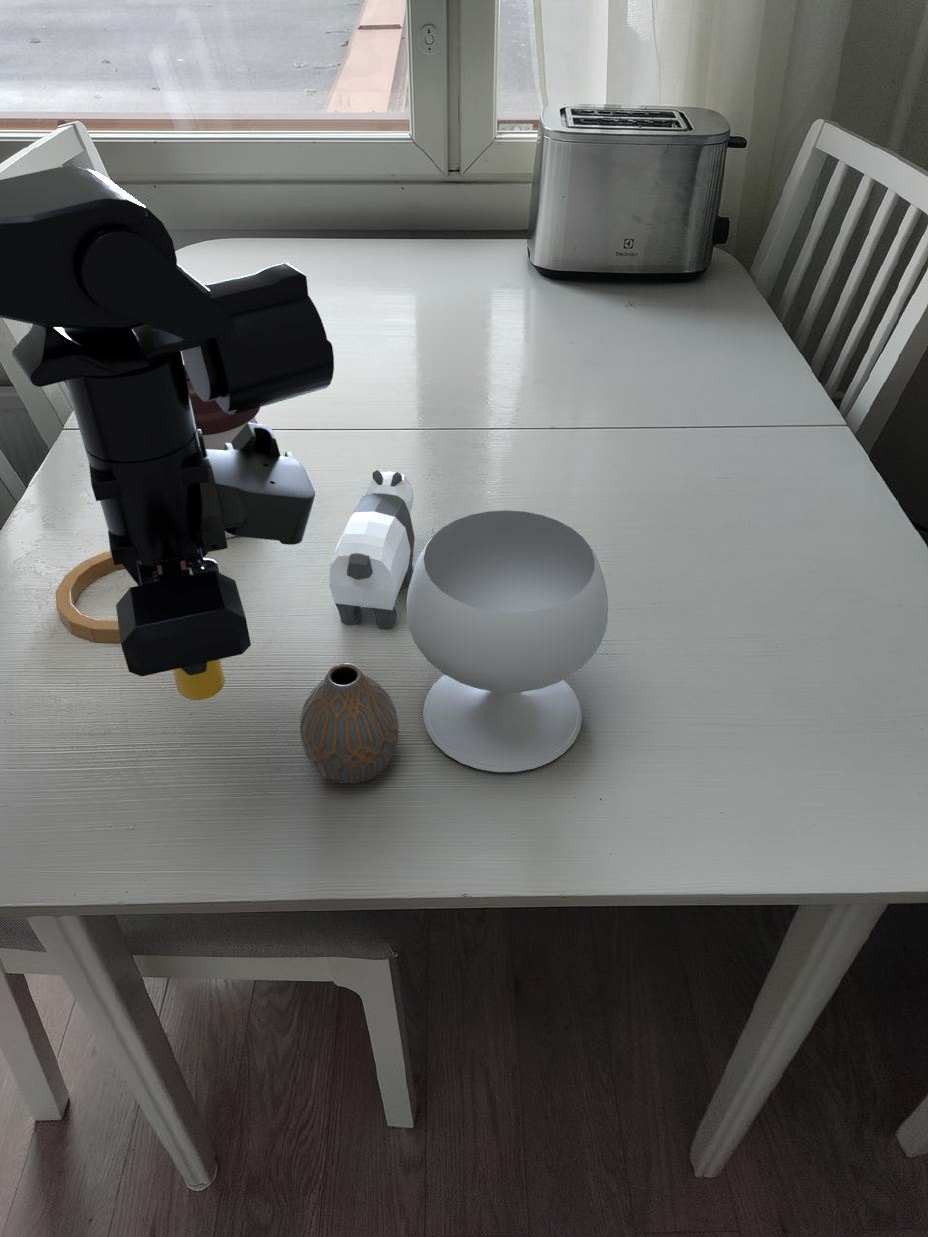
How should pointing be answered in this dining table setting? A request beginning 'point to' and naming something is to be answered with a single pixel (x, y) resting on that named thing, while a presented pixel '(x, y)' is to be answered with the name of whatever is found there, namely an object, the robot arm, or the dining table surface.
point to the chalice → (506, 635)
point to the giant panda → (375, 551)
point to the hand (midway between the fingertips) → (193, 655)
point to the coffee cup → (217, 422)
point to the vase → (348, 726)
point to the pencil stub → (199, 675)
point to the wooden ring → (71, 591)
